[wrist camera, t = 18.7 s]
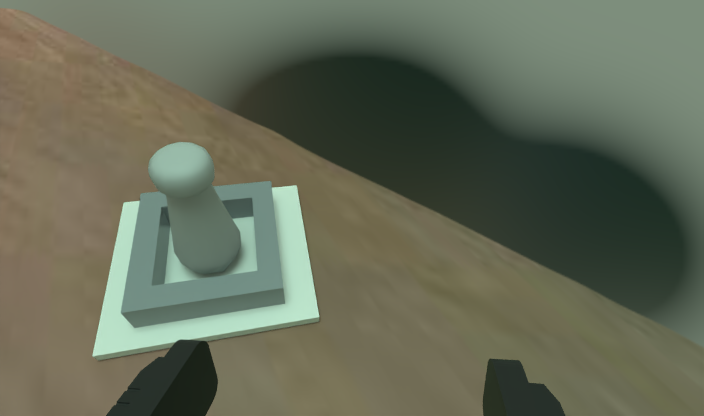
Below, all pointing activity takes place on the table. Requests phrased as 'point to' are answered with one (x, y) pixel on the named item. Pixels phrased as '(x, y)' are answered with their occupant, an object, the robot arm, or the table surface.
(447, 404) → the table surface
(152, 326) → the socket board
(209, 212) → the salt shaker
